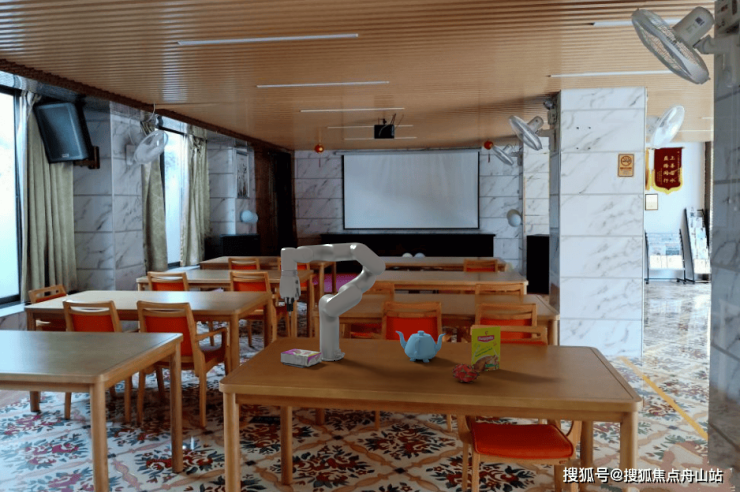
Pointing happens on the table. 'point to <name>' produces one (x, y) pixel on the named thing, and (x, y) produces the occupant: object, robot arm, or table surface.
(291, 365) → the mat
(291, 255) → the robot arm
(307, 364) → the candy bar box
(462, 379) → the dragon fruit
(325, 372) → the table surface
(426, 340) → the teapot
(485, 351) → the food package
